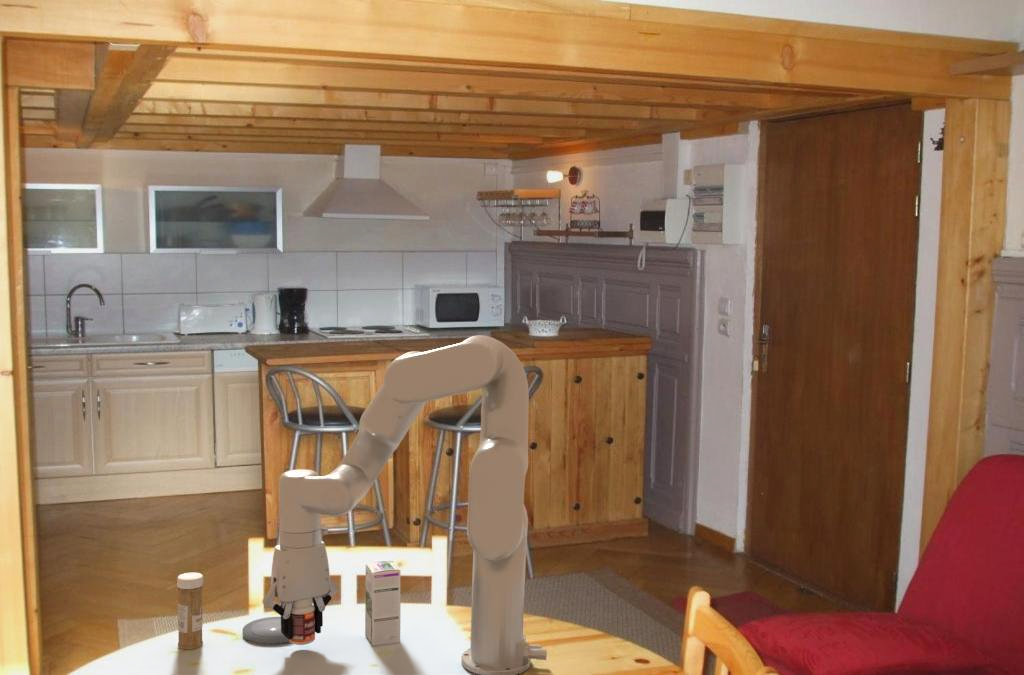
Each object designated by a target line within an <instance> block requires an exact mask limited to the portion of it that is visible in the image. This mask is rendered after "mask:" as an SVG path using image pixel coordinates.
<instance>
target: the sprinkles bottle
mask: <svg viewBox="0 0 1024 675" xmlns="http://www.w3.org/2000/svg"><path fill="white" fill-rule="evenodd" d="M203 585H204V576H203V574H202V573H200V572H193V571H192V572H191V571H190V572H185V573H181V574H179V575H177V579H176V586H177V589H178V591H177V593H178V597H177V598H178V599H177V600H178V601H177V630H178V642H177V647H178V648H179V649H181V650H185V651H189V650H196V649H200V648H201V646H203V644H204V640H203Z"/></svg>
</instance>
